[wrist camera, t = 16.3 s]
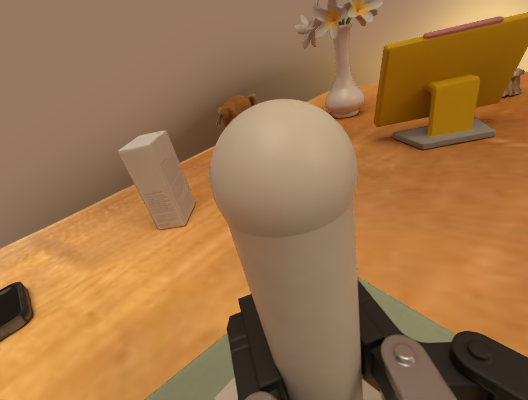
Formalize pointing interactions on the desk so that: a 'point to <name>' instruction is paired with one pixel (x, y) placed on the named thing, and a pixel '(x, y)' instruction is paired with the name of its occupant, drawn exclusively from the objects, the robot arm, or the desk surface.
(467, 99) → the yellow framed monitor
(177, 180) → the cosmetic box
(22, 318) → the phone
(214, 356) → the desk mat
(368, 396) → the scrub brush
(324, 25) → the flower vase
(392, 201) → the desk surface
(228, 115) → the stuffed squirrel
